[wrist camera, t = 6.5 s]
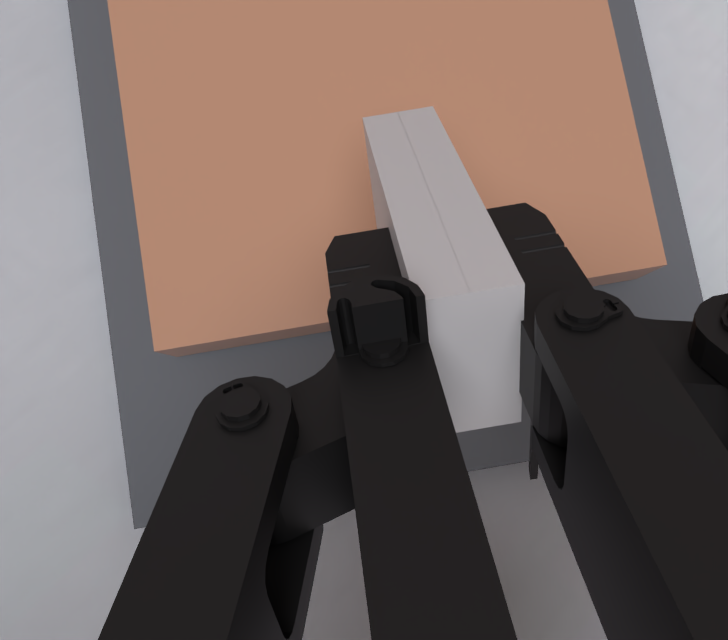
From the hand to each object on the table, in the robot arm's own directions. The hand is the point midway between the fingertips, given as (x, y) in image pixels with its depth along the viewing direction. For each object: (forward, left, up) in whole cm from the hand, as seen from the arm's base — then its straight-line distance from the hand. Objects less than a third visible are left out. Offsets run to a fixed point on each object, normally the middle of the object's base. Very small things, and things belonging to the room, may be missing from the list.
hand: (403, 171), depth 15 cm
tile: (+1, -2, -5) cm, 6 cm away
